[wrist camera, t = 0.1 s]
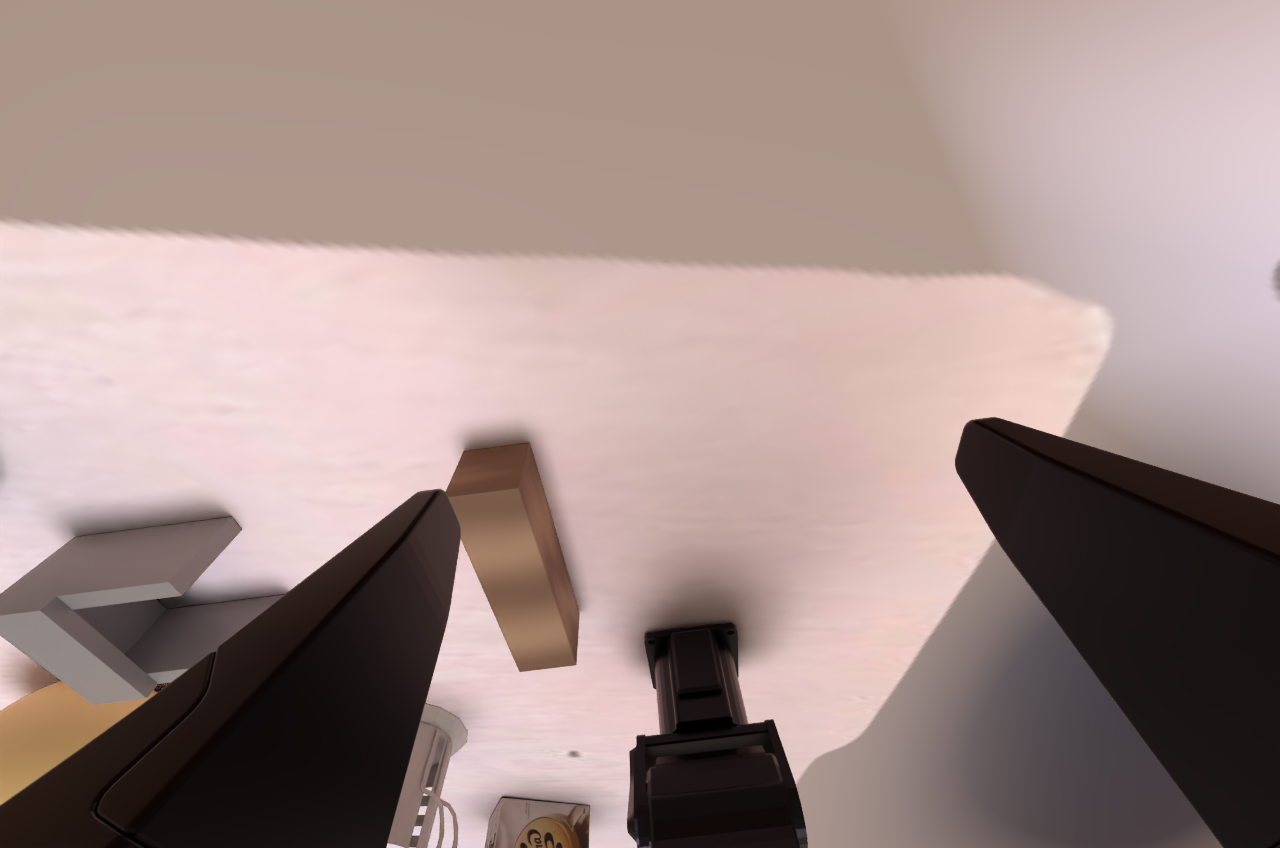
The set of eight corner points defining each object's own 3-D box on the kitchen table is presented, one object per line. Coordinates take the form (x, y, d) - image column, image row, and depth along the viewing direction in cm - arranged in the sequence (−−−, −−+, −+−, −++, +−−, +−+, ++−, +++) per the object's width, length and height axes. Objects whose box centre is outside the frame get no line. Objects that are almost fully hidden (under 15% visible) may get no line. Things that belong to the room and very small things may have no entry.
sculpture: (144, 756, 39) (3, 948, 30) (-8, 680, 33) (-243, 891, 24) (260, 723, 38) (147, 915, 29) (122, 636, 32) (-77, 845, 22)
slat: (579, 609, 33) (576, 665, 29) (528, 615, 33) (519, 671, 30) (530, 439, 25) (518, 488, 22) (464, 448, 26) (443, 497, 22)
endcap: (298, 603, 31) (245, 686, 26) (161, 621, 31) (84, 706, 26) (231, 516, 27) (155, 596, 22) (74, 537, 27) (-34, 619, 22)
